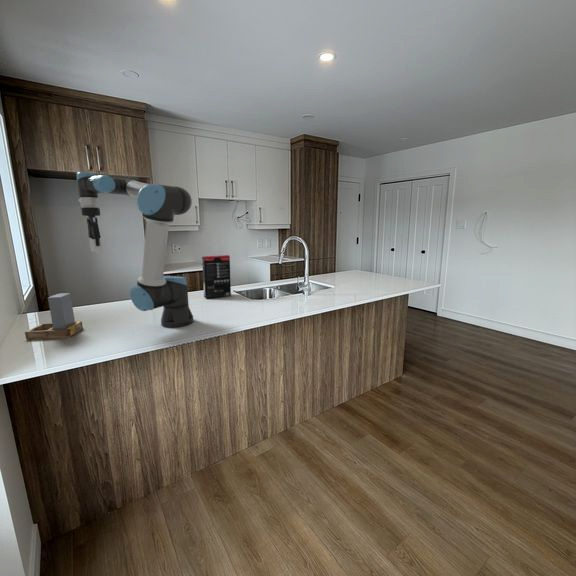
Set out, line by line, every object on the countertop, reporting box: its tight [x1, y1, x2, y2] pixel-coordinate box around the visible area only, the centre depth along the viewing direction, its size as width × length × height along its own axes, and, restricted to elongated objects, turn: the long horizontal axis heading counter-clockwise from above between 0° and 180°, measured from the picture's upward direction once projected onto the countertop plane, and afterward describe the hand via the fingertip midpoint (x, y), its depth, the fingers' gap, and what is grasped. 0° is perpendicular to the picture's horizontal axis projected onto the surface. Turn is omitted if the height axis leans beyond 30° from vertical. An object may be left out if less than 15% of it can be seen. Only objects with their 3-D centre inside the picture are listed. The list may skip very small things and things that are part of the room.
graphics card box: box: [201, 254, 232, 300], centre depth 206 cm, size 17×7×27 cm, turn 118°
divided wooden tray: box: [24, 321, 84, 341], centre depth 142 cm, size 12×18×4 cm
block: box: [47, 292, 76, 330], centre depth 141 cm, size 8×5×17 cm, turn 8°
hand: (96, 252), depth 154 cm, fingers open, 13 cm apart
